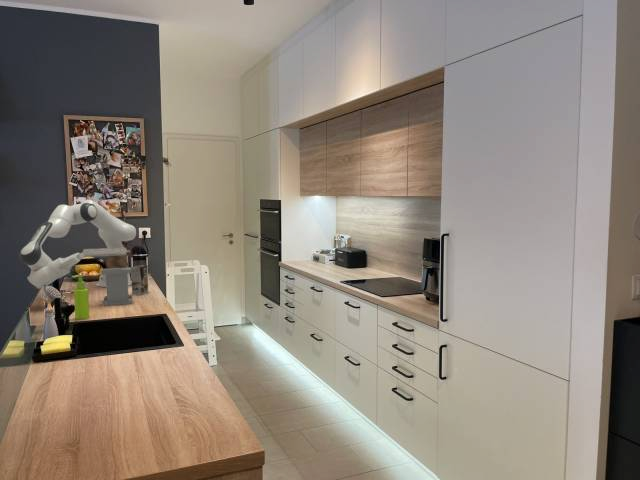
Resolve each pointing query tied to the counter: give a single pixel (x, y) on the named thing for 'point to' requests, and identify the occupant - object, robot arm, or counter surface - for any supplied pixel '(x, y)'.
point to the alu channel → (105, 252)
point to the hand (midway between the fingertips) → (87, 251)
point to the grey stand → (116, 286)
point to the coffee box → (139, 279)
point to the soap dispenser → (81, 299)
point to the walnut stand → (118, 264)
